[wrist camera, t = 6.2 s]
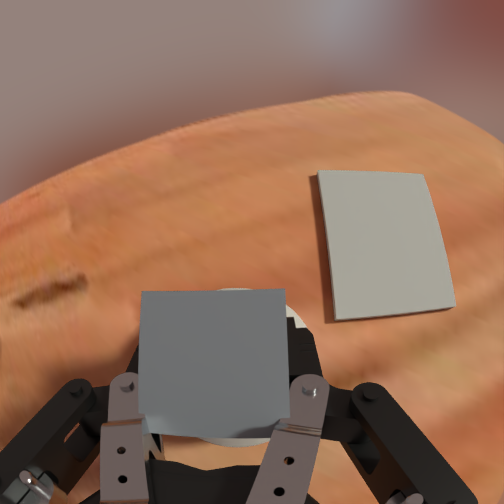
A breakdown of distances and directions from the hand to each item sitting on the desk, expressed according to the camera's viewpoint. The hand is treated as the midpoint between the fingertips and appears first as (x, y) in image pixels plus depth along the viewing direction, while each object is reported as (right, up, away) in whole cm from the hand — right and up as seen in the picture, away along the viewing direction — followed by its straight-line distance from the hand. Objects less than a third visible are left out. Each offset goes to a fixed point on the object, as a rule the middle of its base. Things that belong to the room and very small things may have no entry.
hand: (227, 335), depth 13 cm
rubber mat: (+12, +5, +9) cm, 16 cm away
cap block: (0, -3, +3) cm, 4 cm away
